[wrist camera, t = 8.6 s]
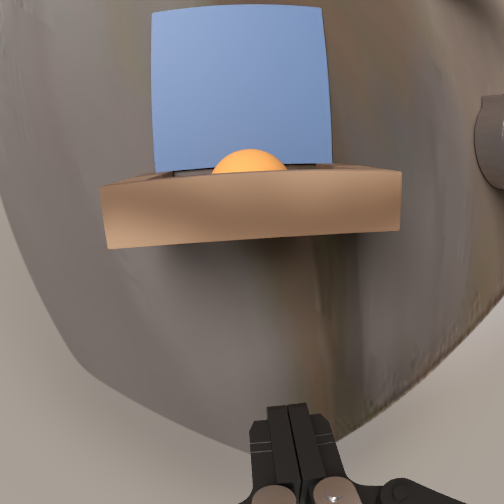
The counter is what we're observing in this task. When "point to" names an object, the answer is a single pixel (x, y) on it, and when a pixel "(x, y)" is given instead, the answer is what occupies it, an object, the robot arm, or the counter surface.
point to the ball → (248, 162)
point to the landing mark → (239, 85)
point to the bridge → (250, 205)
